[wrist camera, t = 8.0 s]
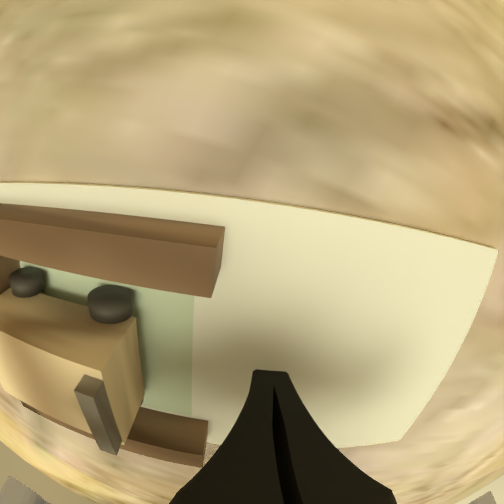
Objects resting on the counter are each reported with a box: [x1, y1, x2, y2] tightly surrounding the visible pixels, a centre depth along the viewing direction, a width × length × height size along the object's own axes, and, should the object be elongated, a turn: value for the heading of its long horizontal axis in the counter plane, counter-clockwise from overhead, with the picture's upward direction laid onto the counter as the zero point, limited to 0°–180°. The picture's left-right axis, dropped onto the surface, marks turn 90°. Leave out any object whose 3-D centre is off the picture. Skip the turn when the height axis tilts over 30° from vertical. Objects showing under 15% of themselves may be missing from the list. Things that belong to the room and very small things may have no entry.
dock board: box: [0, 182, 499, 448], centre depth 12 cm, size 14×25×1 cm, turn 82°
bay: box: [0, 203, 225, 468], centre depth 10 cm, size 12×12×2 cm
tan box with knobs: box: [0, 267, 145, 455], centre depth 9 cm, size 7×6×5 cm
